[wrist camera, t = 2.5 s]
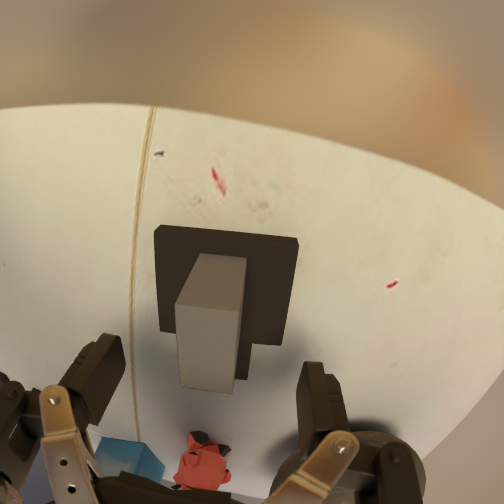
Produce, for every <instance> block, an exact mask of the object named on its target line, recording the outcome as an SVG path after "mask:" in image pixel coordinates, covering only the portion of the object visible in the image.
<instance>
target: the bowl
mask: <svg viewBox="0 0 504 504" xmlns="http://www.w3.org/2000/svg"><path fill="white" fill-rule="evenodd" d="M351 434H353V435H354V436H355V437H356V438H357V440H358V441H359V442H361V443H363V444H366V445H371V446H376V447H381V448H382V447H383V446H384V445H385V444H387V443H389V442H401V443H403V444H405V445H407V446H408V447H409V449H410V450H411V452H412V455H413V459H414V463H415V468H416V472H417V476H418V481H419V486H420V491H421V495H422V499H423V495H424V491H425V483H426V476H425V471H424V467H423V464H422V462H421V460H420V458H419V456H418V455H417V453H416V452H415V451H414V450H413V449H412V448H411V447H410V446H409V445H408V444H407V443H406V442H404V441H402V440H400V439H399V438H397V437H395V436H393V435H390V434H387V433H382V432H376V431H355V432H351ZM304 462H305V460H300V450H299V449H298V450H297V451H295V452H294V453H293V454H292V455H291V456H290V457H289V458H287V459H286V460H285V461H284V463H283V464H282V465H281V467H280V468H279V470H278V473H277V475H276V477H275V478H274V481H273V483H272V486H271V489H270V493H269V496H270V495H271V494H272V493H273V492H274V491H275V490H276V489H277V488H278V487H279V486H280V485H281V484H282V483H283V482H284V481H285V480H286V478H287V477H288V476H289V475H290V474H292V473H293V472H295V471H296V470H297V469H298V468H299V467H300V466H301V465H302V464H303V463H304ZM322 504H355V498H354V490H348V489H343V488H339V487H334V488H333V489H332V490H331V492H330V494H329V495H328V496H327V498H326V499H325V500H324V502H323V503H322Z"/></svg>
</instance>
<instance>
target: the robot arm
mask: <svg viewBox="0 0 504 504" xmlns="http://www.w3.org/2000/svg"><path fill="white" fill-rule="evenodd" d="M125 366H126V361H125V357H124V352H123V347H122V343H121V338H120V337H119V336H116V335H112V334H107V333H103V334H102V335H101V336H100V337H99V339H98V340H97V342H93V341H92V342H91V343H89V344H88V345H86V346H85V347H83V349H82V350H81V352H80V353H79V354H78V356H77V357H76V359H75V360H74V363H72V364H71V366H70V367H69V369H68V370H67V372H66V373H65V375H64V376H63V378H62V379H61V381H60V382H59V383H58V385H51V386H48V387H46V388H44V389H43V390H42V391H41V392H33V391H25V389H24V387H23V385H22V384H21V383H19V382H17V381H9V382H6V383H5V384H3V385H2V386H1V388H0V504H23V497H22V495H21V491H22V488H23V486H24V483H25V481H26V478H27V476H28V473H29V471H30V469H31V467H32V464H33V462H34V460H35V457H36V455H37V453H38V451H39V449H40V446H41V447H42V452H43V457H44V462H45V466H46V471H47V475H48V479H49V483H50V486H51V490H52V494H53V497H54V500H53V501H51V502H49V503H47V504H244V503H241V502H239V501H237V500H234V499H231V493H228V492H219V491H212V490H205V489H196V490H171V489H169V488H167V487H165V486H163V485H160V484H158V483H156V482H154V481H152V480H150V479H148V478H146V477H142V476H139V475H135V474H132V473H128V472H125V471H122V470H121V472H120V475H119V476H107V477H105V476H104V474H103V472H102V470H101V468H100V466H99V464H98V461H97V459H96V456H95V453H94V450H93V447H92V444H91V441H90V438H89V434H88V431H87V429H86V428H87V426H88V424H89V423H90V424H93V425H95V426H98V424H99V422H100V420H101V418H102V416H103V414H104V412H105V410H106V408H107V406H108V404H109V402H110V400H111V398H112V396H113V394H114V392H115V390H116V388H117V386H118V384H119V382H120V380H121V378H122V376H123V374H124V371H125ZM296 404H297V418H298V433H299V450H300V460H305V462H304V463H303V464H302V465H301V466H300V467H299V468H298V469H297V470H296V471H295V472H293V473H292V474H290V475H289V476H288V477H287V478H286V480H285V481H284V482H283V483H282V484H281V485H280V486H279V487H278V488H277V489H276V490H275V491H274V492H273V493H272V494H271V495H270V496H269V497H268V498H267V499H266V500H265V501H264V502H263V503H262V504H322V503H323V502H324V500H325V499H326V498H327V496H328V495H329V494H330V492H331V490H332V489H333V488H334V487H339V488H343V489H348V490H354V498H355V504H423V501H422V495H421V491H420V486H419V481H418V476H417V472H416V468H415V463H414V459H413V455H412V452H411V450H410V449H409V447H408V446H407V445H405V444H403V443H401V442H389V443H387V444H385V445H384V446H383V447H382V448H381V447H376V446H371V445H366V444H363V443H361V442H359V441H358V440H357V438H356V437H355V436H354V435H353V434H351V432H350V429H349V424H348V419H347V415H346V410H345V405H344V402H343V396H342V392H341V387H340V383H339V382H338V380H337V379H336V378H335V376H334V375H333V374H325V373H324V368H323V363H322V362H310V361H305V362H304V363H303V367H302V370H301V374H300V377H299V381H298V384H297V390H296ZM16 424H17V426H16V428H15V430H14V432H13V434H12V436H11V437H10V434H11V433H12V431H13V429H14V427H15V425H16ZM9 437H10V439H9Z"/></svg>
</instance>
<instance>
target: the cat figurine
mask: <svg viewBox="0 0 504 504" xmlns="http://www.w3.org/2000/svg"><path fill="white" fill-rule="evenodd" d="M208 440H209V438H208V435H207V434H206V433H203V432H200V431H197V432H190V433H189V436H188V438H187V442H188V449H189V451H187V452H185V453H184V454H182V456H181V460H180V465H179V469H178V470H179V471H178V472H177V473H176V474H175V475H174V476H173V479H174V480H175V482H176V483H177V484H176V485H174V486H172V487H171V488H173V489H175V490H177V489H179V488H180V487H182V490H196V489H205V490H212V491H217V489H218V487H219V486H220V484H223V483H227V482H229V481H230V478H231V473H230V472H229V470H228V469H226V461H225V460H224V459H223V458H222V457H224V456H225V455H226V454H227V453H228V452H229V451H230V450H231V449H230V448H229V447H228V446H225V445H219V444H216V445H209V446H204V447H203V448H201V449H199V448H200V447H201V446H202V445H204V444H205V443H206V442H207V441H208Z"/></svg>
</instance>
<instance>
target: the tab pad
mask: <svg viewBox="0 0 504 504" xmlns="http://www.w3.org/2000/svg"><path fill="white" fill-rule="evenodd" d="M298 249H299V244H298V241H297V238H292V237H283V236H273V235H263V234H254V233H244V232H234V231H223V230H213V229H202V228H191V227H181V226H169V225H160V226H159V227H158V228H157V229H156V230H155V231H154V250H155V272H156V288H157V302H158V314H159V325H160V331H161V332H167V333H174V334H176V338H177V351H178V364H179V375H180V385H181V387H186V388H193V389H199V390H206V391H213V392H221V393H230V394H232V393H233V386H234V379H240V380H247V378H248V370H249V362H250V354H251V346H252V343H254V344H264V345H277V346H281V344H282V339H283V334H284V329H285V323H286V318H287V313H288V307H289V302H290V296H291V290H292V285H293V279H294V273H295V267H296V261H297V255H298Z"/></svg>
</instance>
